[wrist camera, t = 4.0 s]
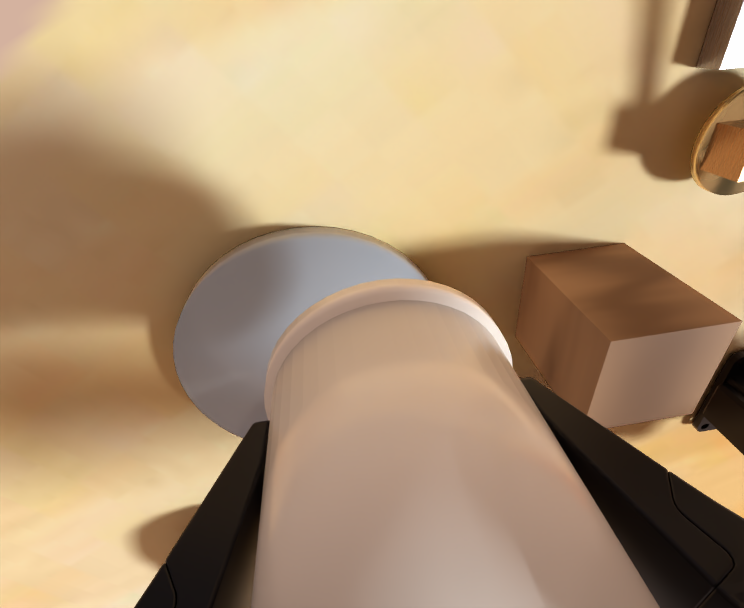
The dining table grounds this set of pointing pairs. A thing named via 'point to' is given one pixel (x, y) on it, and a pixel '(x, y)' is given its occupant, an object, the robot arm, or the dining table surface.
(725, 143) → the balance
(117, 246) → the dining table surface
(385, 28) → the dining table surface
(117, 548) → the dining table surface
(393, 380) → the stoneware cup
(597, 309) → the walnut block
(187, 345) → the dish
